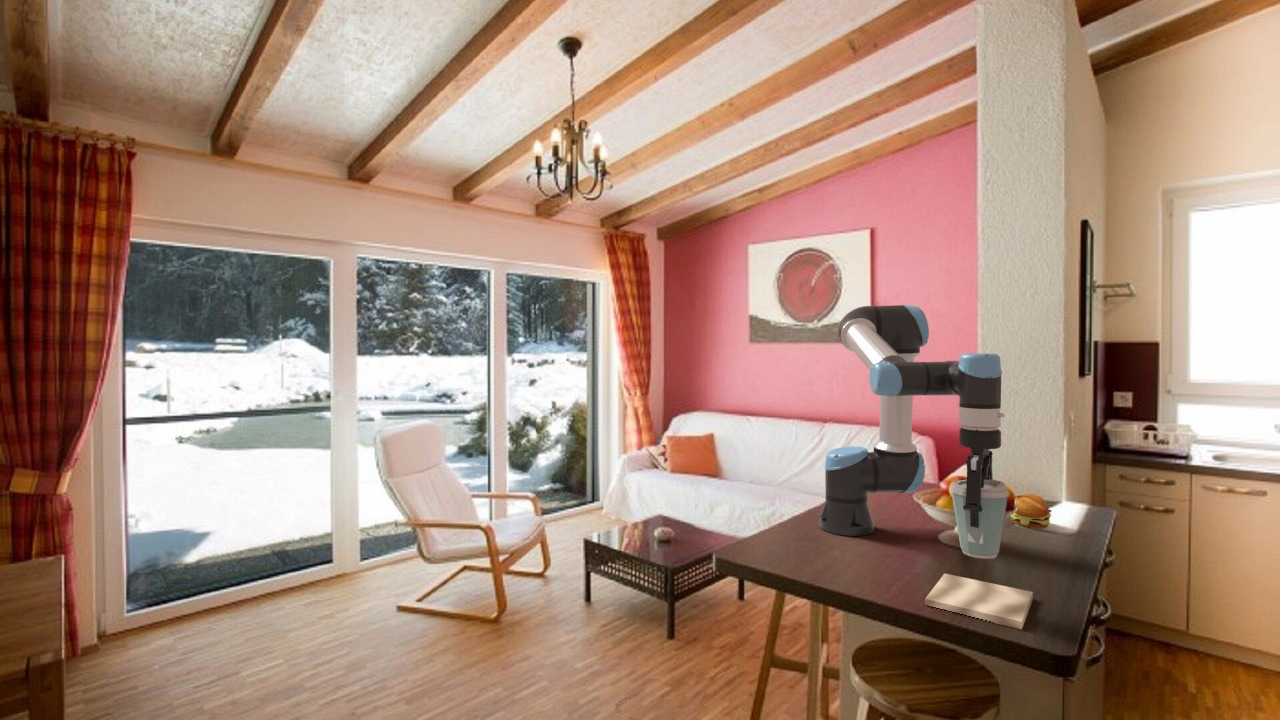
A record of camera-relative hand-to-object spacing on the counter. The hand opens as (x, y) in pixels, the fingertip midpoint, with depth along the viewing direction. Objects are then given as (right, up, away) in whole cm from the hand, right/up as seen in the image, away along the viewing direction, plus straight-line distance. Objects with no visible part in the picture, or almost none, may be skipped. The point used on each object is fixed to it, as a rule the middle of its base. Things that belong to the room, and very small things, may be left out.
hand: (979, 536), depth 125 cm
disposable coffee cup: (-1, -4, -1) cm, 4 cm away
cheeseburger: (+44, -12, +52) cm, 69 cm away
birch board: (0, -14, 0) cm, 14 cm away
